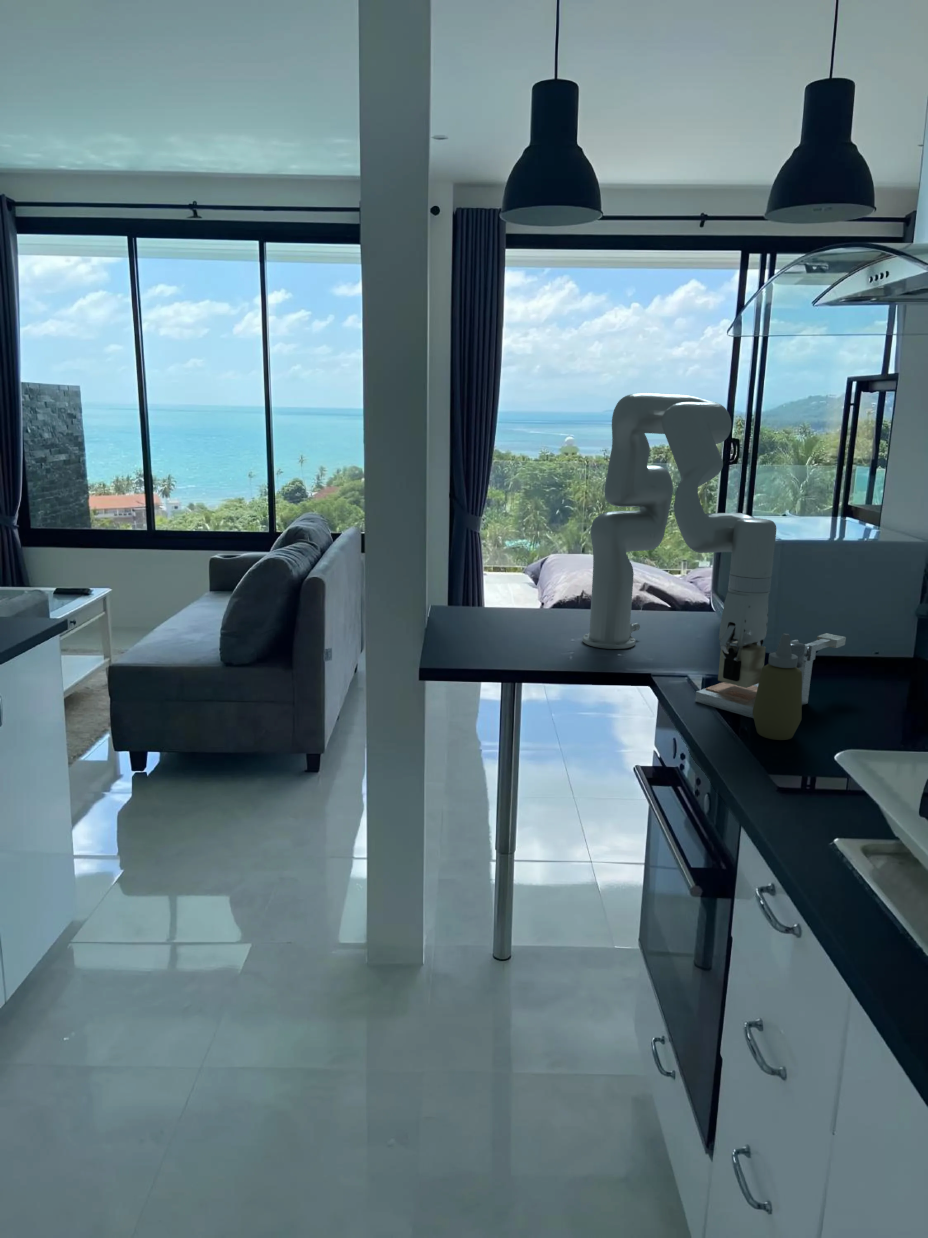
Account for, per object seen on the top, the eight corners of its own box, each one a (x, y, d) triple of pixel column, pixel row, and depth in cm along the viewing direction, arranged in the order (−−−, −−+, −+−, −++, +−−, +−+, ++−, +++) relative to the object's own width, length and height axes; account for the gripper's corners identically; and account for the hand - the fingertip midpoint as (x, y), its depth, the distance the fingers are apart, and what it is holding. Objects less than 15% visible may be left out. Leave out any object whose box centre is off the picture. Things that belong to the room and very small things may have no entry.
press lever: (823, 646, 177) (826, 627, 176) (845, 650, 174) (847, 631, 173) (773, 664, 163) (775, 643, 162) (795, 669, 160) (798, 648, 159)
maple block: (734, 674, 171) (737, 640, 170) (762, 682, 167) (765, 646, 165) (717, 680, 167) (721, 645, 166) (746, 688, 163) (749, 651, 162)
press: (739, 685, 178) (745, 628, 175) (810, 703, 167) (817, 643, 165) (695, 701, 167) (700, 641, 164) (768, 722, 156) (775, 658, 154)
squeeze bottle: (768, 745, 145) (780, 641, 141) (740, 728, 153) (751, 629, 149) (809, 741, 148) (822, 639, 143) (780, 725, 155) (791, 627, 151)
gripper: (754, 576, 171) (745, 664, 175) (706, 586, 160) (698, 680, 164) (790, 582, 166) (780, 672, 170) (743, 593, 155) (734, 689, 159)
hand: (740, 675), depth 167 cm, fingers closed on maple block, 6 cm apart
